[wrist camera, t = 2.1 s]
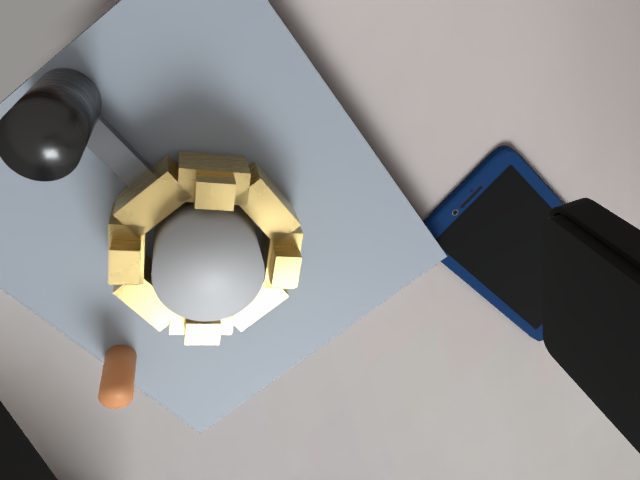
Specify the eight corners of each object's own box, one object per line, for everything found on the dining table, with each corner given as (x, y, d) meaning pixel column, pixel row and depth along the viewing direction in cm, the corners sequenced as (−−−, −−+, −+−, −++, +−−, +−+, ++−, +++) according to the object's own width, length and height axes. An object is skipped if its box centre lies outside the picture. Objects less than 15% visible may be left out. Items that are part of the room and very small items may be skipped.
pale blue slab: (210, -77, 23) (219, -81, 18) (436, 243, 33) (480, 295, 28) (-102, 189, 25) (-167, 248, 20) (199, 415, 35) (202, 489, 30)
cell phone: (535, 339, 39) (541, 346, 38) (407, 232, 33) (412, 238, 32) (617, 264, 38) (625, 270, 37) (501, 137, 31) (507, 141, 30)
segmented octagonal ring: (323, 242, 29) (353, 303, 24) (197, 336, 30) (201, 413, 25) (122, 6, 22) (107, 27, 17) (-34, 140, 23) (-91, 195, 18)
